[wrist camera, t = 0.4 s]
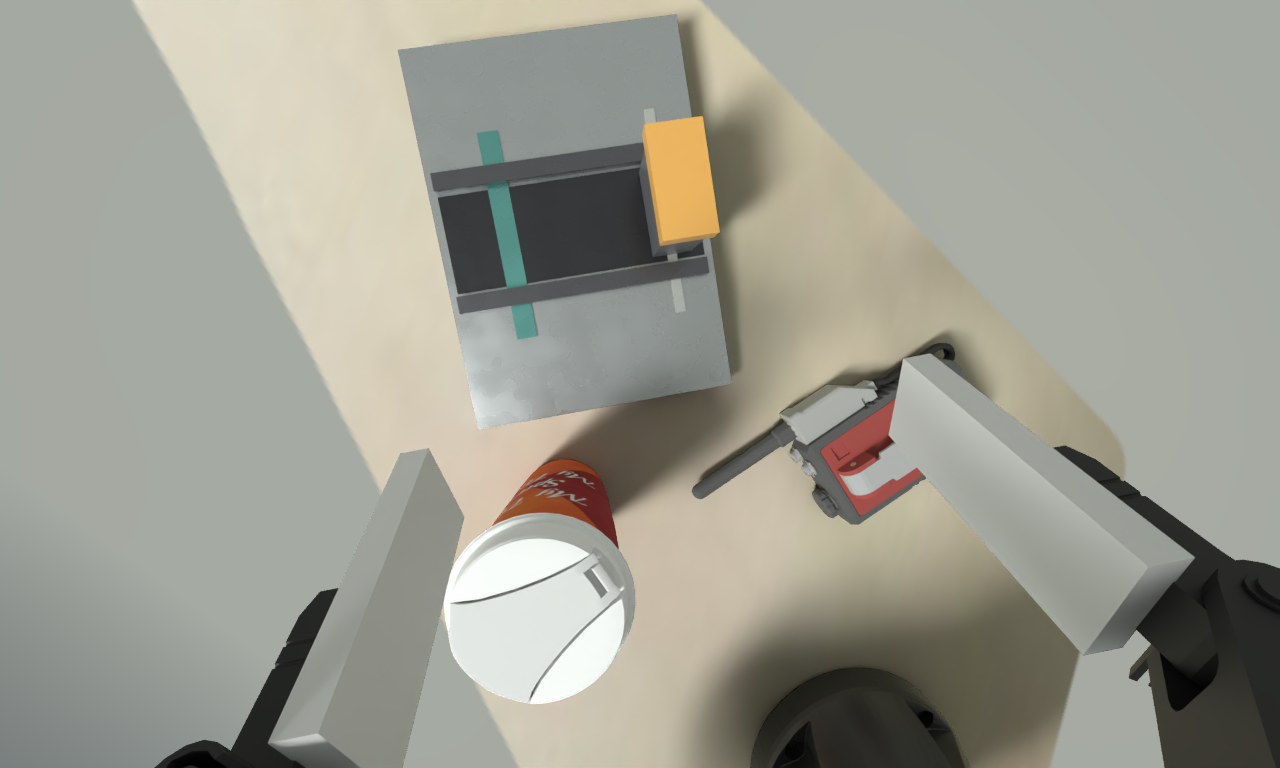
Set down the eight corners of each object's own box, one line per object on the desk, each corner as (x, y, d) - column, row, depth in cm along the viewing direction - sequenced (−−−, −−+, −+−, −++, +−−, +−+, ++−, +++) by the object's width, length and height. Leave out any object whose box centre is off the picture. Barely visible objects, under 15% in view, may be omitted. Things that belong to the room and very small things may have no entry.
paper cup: (580, 420, 32) (564, 486, 18) (643, 512, 32) (675, 643, 19) (481, 486, 31) (387, 604, 18) (547, 576, 32) (508, 756, 18)
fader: (695, 253, 29) (719, 232, 23) (650, 261, 29) (663, 241, 23) (681, 162, 28) (702, 116, 22) (635, 169, 28) (644, 124, 22)
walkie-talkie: (919, 316, 33) (681, 476, 33) (967, 312, 29) (693, 497, 28) (977, 418, 34) (747, 574, 34) (1032, 430, 30) (769, 610, 30)
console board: (723, 381, 32) (734, 384, 29) (486, 423, 31) (475, 431, 28) (671, 36, 30) (678, 7, 27) (411, 69, 29) (393, 43, 26)
